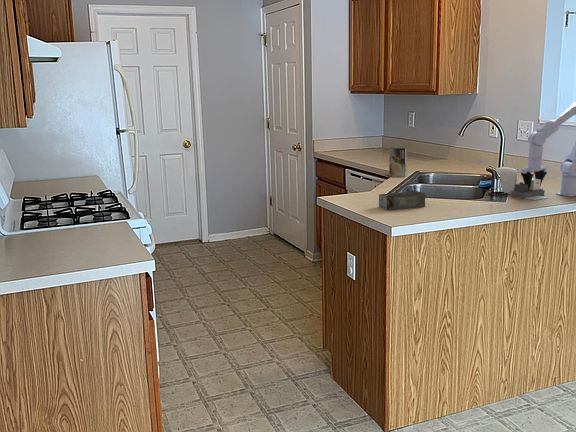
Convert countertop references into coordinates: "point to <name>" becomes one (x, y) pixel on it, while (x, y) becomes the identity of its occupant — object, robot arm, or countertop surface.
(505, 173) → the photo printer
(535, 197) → the pad
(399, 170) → the coffee box
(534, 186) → the block
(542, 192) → the power strip
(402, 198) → the beverage carton
